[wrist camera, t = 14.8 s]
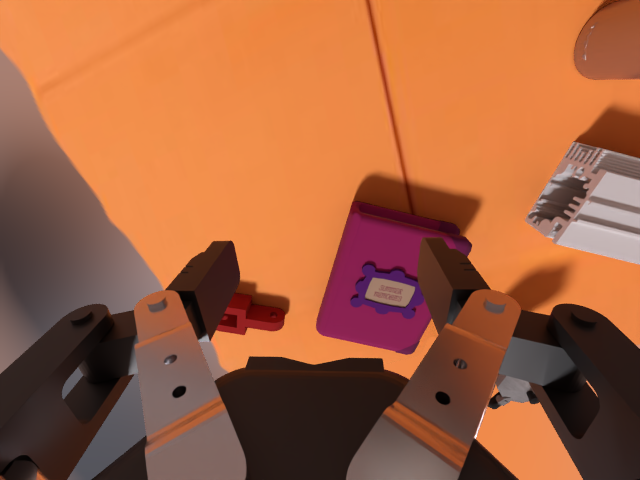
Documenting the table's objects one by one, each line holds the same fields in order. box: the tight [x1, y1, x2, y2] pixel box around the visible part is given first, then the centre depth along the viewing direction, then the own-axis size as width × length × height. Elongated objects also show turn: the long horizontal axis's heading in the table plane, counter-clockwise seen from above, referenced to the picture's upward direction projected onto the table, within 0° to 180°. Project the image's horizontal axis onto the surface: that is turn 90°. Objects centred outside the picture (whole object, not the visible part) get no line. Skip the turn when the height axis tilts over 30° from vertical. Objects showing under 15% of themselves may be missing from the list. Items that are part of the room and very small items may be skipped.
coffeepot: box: [488, 374, 539, 409], centre depth 58 cm, size 15×9×18 cm, turn 146°
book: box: [316, 201, 472, 355], centre depth 58 cm, size 21×28×8 cm
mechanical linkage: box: [216, 293, 285, 335], centre depth 65 cm, size 16×7×5 cm, turn 81°
